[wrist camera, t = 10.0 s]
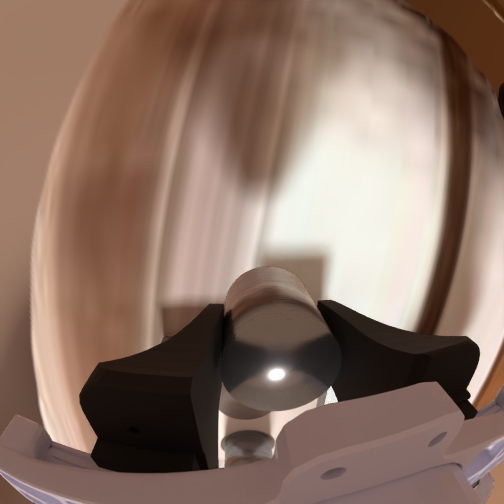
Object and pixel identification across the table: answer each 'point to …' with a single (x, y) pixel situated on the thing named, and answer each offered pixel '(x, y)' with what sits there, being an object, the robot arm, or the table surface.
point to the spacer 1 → (247, 448)
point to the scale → (253, 418)
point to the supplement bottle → (501, 98)
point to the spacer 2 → (276, 342)
